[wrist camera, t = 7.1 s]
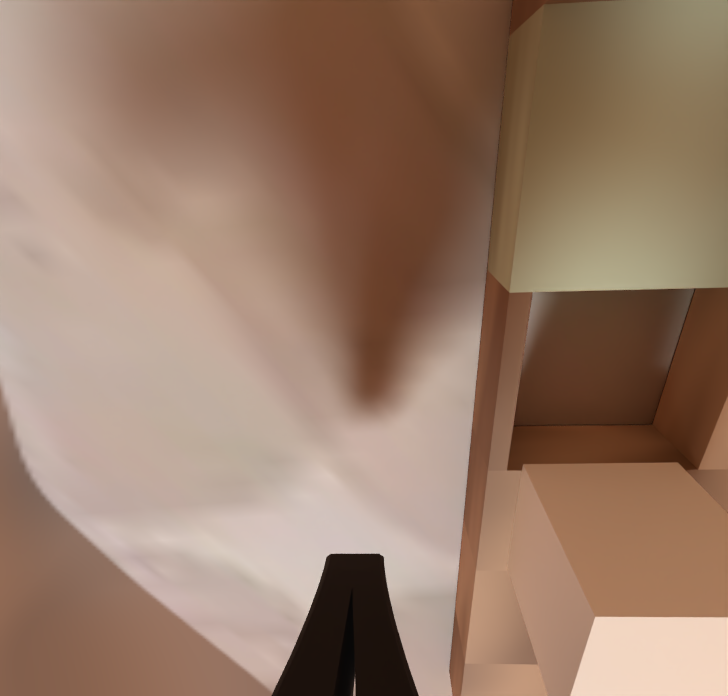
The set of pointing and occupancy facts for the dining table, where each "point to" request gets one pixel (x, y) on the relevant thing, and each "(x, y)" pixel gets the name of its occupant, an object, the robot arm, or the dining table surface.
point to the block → (622, 579)
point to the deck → (595, 268)
